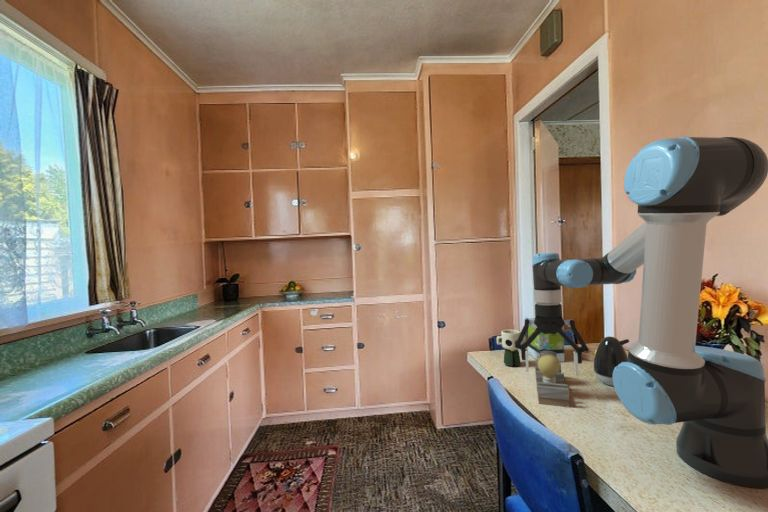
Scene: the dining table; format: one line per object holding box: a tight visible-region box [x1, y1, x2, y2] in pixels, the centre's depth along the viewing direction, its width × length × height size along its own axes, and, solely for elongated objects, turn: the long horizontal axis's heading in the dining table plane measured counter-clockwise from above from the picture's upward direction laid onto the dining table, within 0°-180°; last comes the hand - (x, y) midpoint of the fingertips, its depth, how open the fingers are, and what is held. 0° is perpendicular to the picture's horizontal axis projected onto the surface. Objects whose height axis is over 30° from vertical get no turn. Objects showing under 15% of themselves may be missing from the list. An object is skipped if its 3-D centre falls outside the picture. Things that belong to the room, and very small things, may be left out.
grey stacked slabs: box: [534, 351, 571, 408], centre depth 111 cm, size 24×8×10 cm, turn 158°
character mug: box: [496, 329, 526, 367], centre depth 135 cm, size 11×7×13 cm, turn 83°
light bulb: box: [536, 354, 561, 384], centre depth 107 cm, size 6×6×10 cm
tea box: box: [523, 317, 565, 363], centre depth 142 cm, size 15×10×15 cm, turn 179°
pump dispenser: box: [593, 336, 630, 387], centre depth 113 cm, size 10×10×15 cm
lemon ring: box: [582, 345, 598, 362], centre depth 140 cm, size 14×14×2 cm
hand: (551, 372), depth 107 cm, fingers open, 13 cm apart
